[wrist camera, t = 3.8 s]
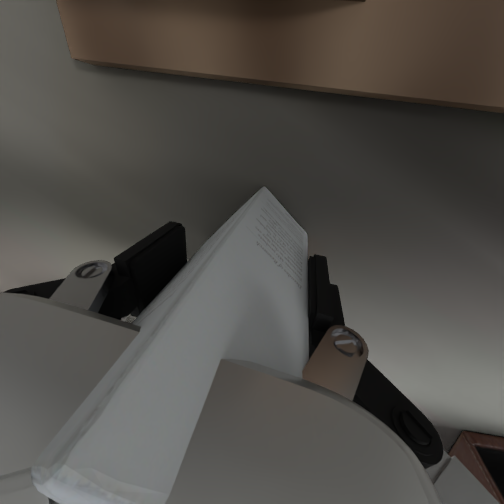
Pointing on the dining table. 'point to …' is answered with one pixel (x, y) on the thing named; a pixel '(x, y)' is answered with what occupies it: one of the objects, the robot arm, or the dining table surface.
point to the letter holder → (483, 460)
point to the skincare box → (185, 360)
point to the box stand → (306, 44)
